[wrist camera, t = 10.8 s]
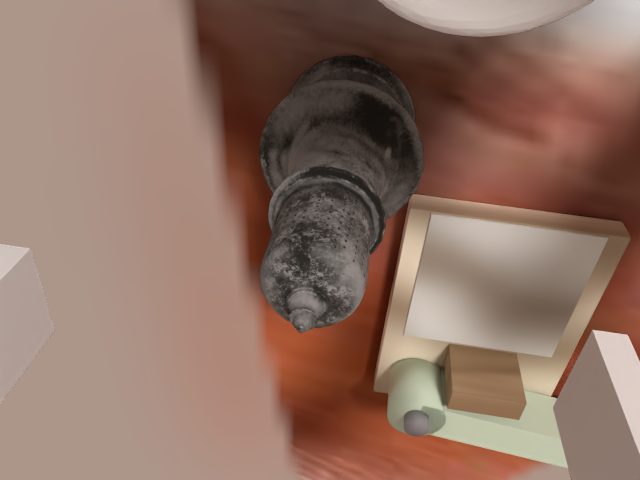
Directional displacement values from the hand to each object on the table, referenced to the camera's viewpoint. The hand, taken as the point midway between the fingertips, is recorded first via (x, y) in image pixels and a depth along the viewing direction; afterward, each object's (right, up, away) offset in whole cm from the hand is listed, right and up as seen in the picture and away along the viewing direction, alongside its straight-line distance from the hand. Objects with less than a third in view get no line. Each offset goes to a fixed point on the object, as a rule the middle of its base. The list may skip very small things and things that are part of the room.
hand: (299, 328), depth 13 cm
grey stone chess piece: (+2, +7, +9) cm, 12 cm away
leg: (+10, -6, +15) cm, 19 cm away
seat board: (+8, -1, +14) cm, 16 cm away
